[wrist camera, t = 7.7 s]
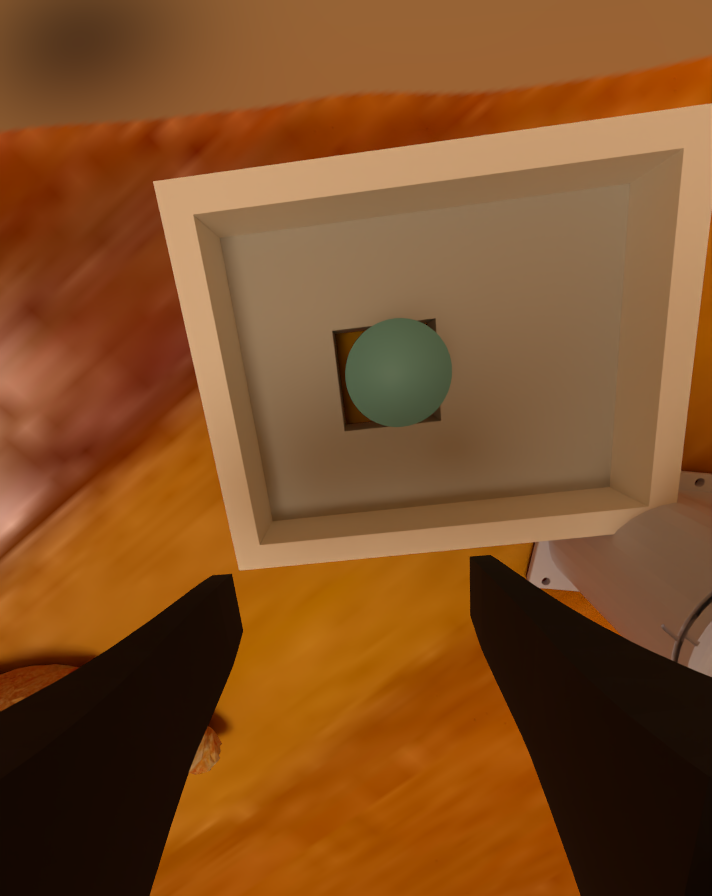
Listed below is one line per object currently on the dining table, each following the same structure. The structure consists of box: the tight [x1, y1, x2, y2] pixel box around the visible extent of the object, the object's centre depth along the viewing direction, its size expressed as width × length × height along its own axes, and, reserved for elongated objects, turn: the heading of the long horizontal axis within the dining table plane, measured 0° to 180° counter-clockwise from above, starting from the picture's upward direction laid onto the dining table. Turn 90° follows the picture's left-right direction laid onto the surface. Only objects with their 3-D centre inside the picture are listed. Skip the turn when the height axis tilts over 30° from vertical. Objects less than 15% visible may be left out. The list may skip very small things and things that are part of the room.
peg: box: [345, 318, 452, 427], centre depth 15 cm, size 4×4×7 cm
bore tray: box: [153, 104, 712, 570], centre depth 16 cm, size 20×16×4 cm
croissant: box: [0, 664, 222, 774], centre depth 22 cm, size 21×10×8 cm, turn 83°
